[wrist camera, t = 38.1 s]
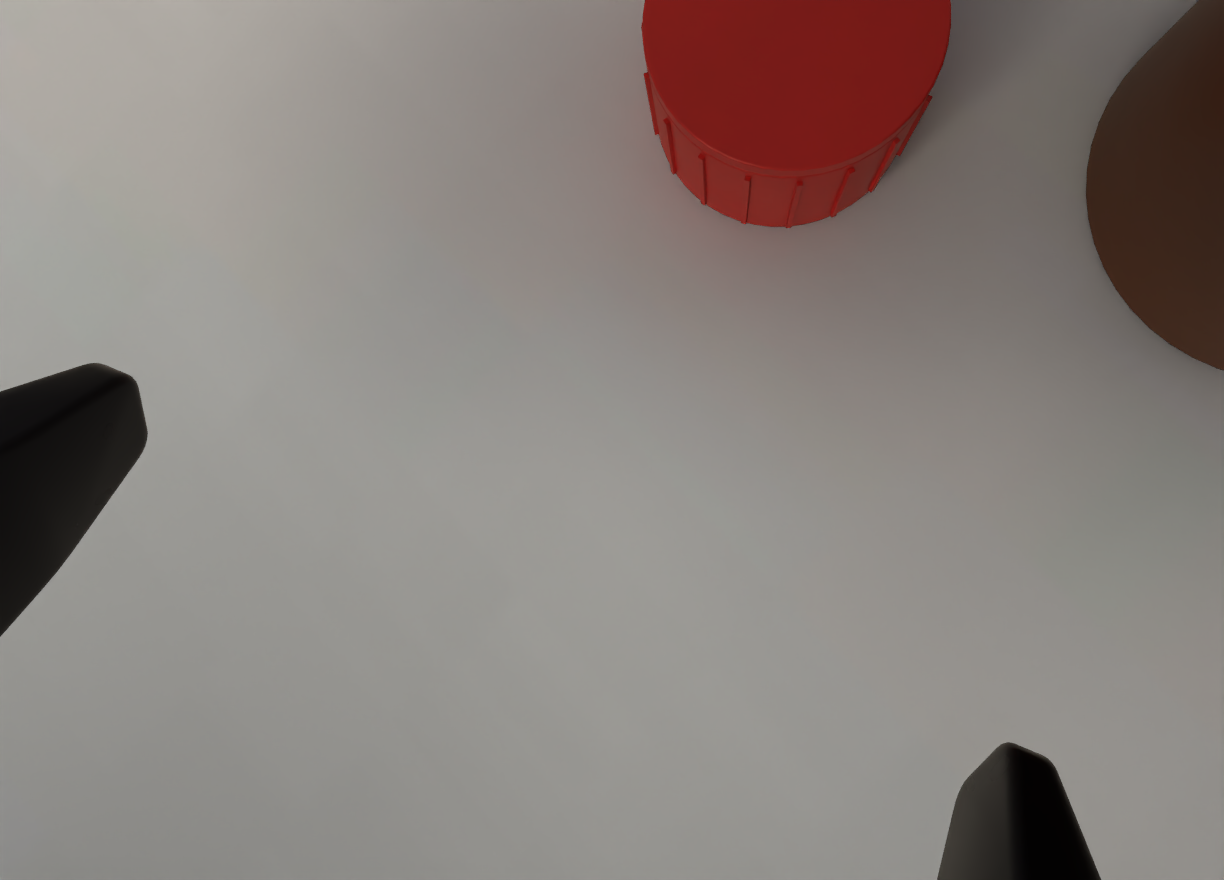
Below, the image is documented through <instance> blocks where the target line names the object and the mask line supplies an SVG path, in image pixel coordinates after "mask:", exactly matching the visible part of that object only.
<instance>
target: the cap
mask: <svg viewBox="0 0 1224 880" xmlns="http://www.w3.org/2000/svg"><path fill="white" fill-rule="evenodd" d="M641 28H642V37H643V46H644V54H645V60H646V66H647V71H648V72H647V73H644V78H645V84H646V89H647V94H648V100H649V105H650V110H651V116H652V121H653V126H654V132H655V135H657V134H659V136H660V140H661V144H662V147H663V149H664V152H665V154H666V157H667V159H668V161H669V163H670V168H671V172H672V173H673V174H675V173H676V174H677V176H678V177H679V178H680V180H681V181H682V182H683V184H684V185H685V186H686V187H687V188H688V189H689V190H690V191H691V192H692V193H693V194H694V195H695V196H696V197H697V198H699V199H700V200H701V203H702V204H703V205H706V204H707V205H708V206H709V207H711V208H713V209H714V210H716V211H718V212H720V213H722V214H723V215H726V216H728V217H731V218H733V219H736V220H738V221H741V223H743V224H746V223H750V224H754V225H762V226H770V227H785V226H786V228H791V227H792V226H795V225H802V224H807V223H811V222H814V221H818V220H821V219H824V218H826V217H829V216H831V218H832V217H834V216H836V215H837V213H838V212H840V211H841V210H843V209H845V208H847V207H848V206H850V205H852V204H853V203H854V202H856V201H857V200H858V199H860V198H861V197H862V196H864V195H865V194H866V193H867V192H868V191H870V192H872V191H873V190H874V189H875V188H876V186H877V184H878V182H879V180H880V178H881V177H882V176H883V174H884V173H885V172H886V171H887V169H888V168H889V166H890V164H891V163H892V161H893V159H894V158H895V156H896V155H898V156H900V155H901V153H902V151H903V149H904V148H905V146H906V144H907V142H908V140H909V139H910V137H911V135H912V133H913V131H914V130H915V128H916V126H917V124H918V122H919V121H920V119H921V117H922V115H923V113H924V112H925V110H926V108H927V106H928V104H929V103H930V101H931V99H932V96H930V95H929V93H930V91H931V89H932V88H933V86H934V84H935V82H936V79H937V77H938V75H939V72H940V70H941V68H942V65H943V62H944V59H945V55H946V52H947V48H948V44H949V37H950V29H951V1H950V0H645V4H644V11H643V23H642V27H641Z"/></svg>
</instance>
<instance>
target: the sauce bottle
mask: <svg viewBox="0 0 1224 880" xmlns="http://www.w3.org/2000/svg"><path fill="white" fill-rule="evenodd" d="M1086 199H1087V209H1088V219H1089V223H1090V228H1091V232H1092V236H1093V240H1094V244H1095V246H1096V249H1097V252H1098V254H1099V257H1100V259H1101V262H1102V264H1103V267H1104V269H1105V270H1106V272H1107V274H1108V276H1109V278H1110V279H1111V281H1112V283H1113V285H1114V286H1115V288H1116V290H1117V291H1118V292H1119V294H1120V295H1121V296H1122V298H1123V299H1124V300H1125V302H1126V303H1127V304H1128V306H1129V307H1130V308H1131V310H1132V311H1133V312H1134V313H1135V314H1136V315H1137V316H1138V317H1139V318H1140V319H1141V320H1142V321H1143V322H1144V323H1145V324H1146V325H1147V326H1148V327H1149V328H1150V329H1152V330H1153V331H1154V332H1155V333H1157V334H1158V335H1159V336H1160V337H1162V338H1163V339H1164V340H1166V341H1167V342H1168V343H1169V344H1171V345H1173V346H1174V347H1176V348H1178V349H1179V350H1181V351H1183V352H1184V353H1186V354H1188V355H1189V356H1191V357H1193V358H1195V359H1197V360H1199V361H1202V362H1204V363H1206V364H1209V365H1211V366H1213V367H1216V368H1218V369H1221V370H1224V0H1199V1H1198V2H1197V3H1196V4H1195V5H1194V6H1193V7H1192V8H1191V9H1190V10H1189V11H1188V12H1187V13H1186V14H1185V15H1184V16H1183V17H1182V18H1181V19H1180V20H1179V21H1178V22H1177V23H1176V24H1175V25H1174V26H1173V27H1172V28H1171V29H1170V30H1169V31H1168V32H1167V33H1166V34H1165V35H1164V36H1163V37H1162V38H1161V39H1160V40H1159V41H1158V42H1157V43H1156V44H1155V45H1154V46H1153V47H1152V48H1151V49H1150V50H1149V51H1148V52H1147V53H1146V54H1145V55H1144V56H1143V57H1142V58H1141V59H1140V60H1139V61H1138V62H1137V64H1136V65H1135V66H1134V67H1133V68H1132V69H1131V70H1130V72H1129V73H1128V74H1127V75H1126V76H1125V77H1124V79H1123V80H1122V82H1121V83H1120V85H1119V86H1118V88H1117V89H1116V91H1115V92H1114V94H1113V95H1112V97H1111V99H1110V100H1109V102H1108V105H1107V107H1106V109H1105V111H1104V113H1103V115H1102V117H1101V119H1100V121H1099V124H1098V127H1097V130H1096V133H1095V136H1094V139H1093V142H1092V145H1091V151H1090V156H1089V162H1088V168H1087V184H1086Z"/></svg>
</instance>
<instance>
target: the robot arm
mask: <svg viewBox="0 0 1224 880" xmlns="http://www.w3.org/2000/svg"><path fill="white" fill-rule="evenodd" d="M147 434H148V432H147V426H146V421H145V416H144V412H143V407H142V402H141V397H140V393H139V388H138V385H137V383H136V381H135V380H134V379H133V377H131V376H130V375H128V374H126V373H123V372H121V371H118V370H116V369H114V368H111V367H109V366H106V365H104V364H99V363H90V364H86V365H82V366H79V367H76V368H72V369H69V370H66V371H63V372H60V373H57V374H54V375H51V376H48V377H44V378H41V379H38V380H35V381H32V382H29V383H26V384H23V385H19V386H16V387H13V388H10V389H7V390H4V391H1V392H0V636H1V635H2V634H3V633H4V632H5V631H6V630H7V629H8V627H9V626H10V625H11V624H12V623H13V622H14V621H15V619H16V618H17V617H18V616H19V615H20V614H21V613H22V612H23V610H24V609H25V608H26V607H27V606H28V605H29V604H30V602H31V601H32V600H33V599H34V598H35V597H36V596H37V595H38V593H39V592H40V591H41V590H42V589H43V588H44V587H45V585H46V584H47V583H48V582H49V581H50V579H51V578H52V577H53V576H54V575H55V573H56V572H57V571H58V570H59V569H60V567H61V566H62V565H63V563H64V562H65V561H66V559H67V558H68V557H69V555H70V554H71V553H72V551H73V550H74V549H75V547H76V546H77V544H78V543H79V542H80V540H81V539H82V537H83V536H84V534H85V533H86V532H87V530H88V529H89V527H90V526H91V525H92V523H93V522H94V520H95V519H96V518H97V516H98V515H99V513H100V512H101V511H102V509H103V508H104V506H105V505H106V503H107V502H108V501H109V499H110V498H111V496H112V495H113V494H114V492H115V491H116V489H117V488H118V487H119V485H120V484H121V482H122V481H123V479H124V478H125V477H126V475H127V474H128V472H129V471H130V470H131V468H132V467H133V465H134V464H135V463H136V461H137V460H138V458H139V457H140V455H141V454H142V452H143V450H144V447H145V445H146V441H147ZM937 880H1101V878H1100V876H1099V873H1098V871H1097V868H1096V866H1095V863H1094V861H1093V858H1092V856H1091V854H1090V851H1089V849H1088V846H1087V844H1086V841H1085V839H1084V836H1083V834H1082V831H1081V829H1080V826H1079V824H1078V821H1077V819H1076V816H1075V814H1074V812H1073V809H1072V807H1071V804H1070V802H1069V799H1068V797H1067V794H1066V792H1065V789H1064V787H1063V784H1062V782H1061V779H1060V777H1059V775H1058V772H1057V770H1056V768H1055V766H1054V765H1053V763H1052V762H1051V761H1050V760H1049V759H1048V758H1046V757H1045V756H1043V755H1041V754H1038V753H1036V752H1033V751H1031V750H1029V749H1026V748H1024V747H1021V746H1019V745H1017V744H1014V743H1010V742H1008V743H1004V744H1001V745H1000V746H999V747H997V748H996V749H995V750H994V751H993V752H992V753H991V755H990V756H989V757H988V758H987V759H986V760H985V761H984V762H983V763H982V764H981V765H980V766H979V767H978V768H977V769H976V770H975V771H974V772H973V773H972V774H971V775H970V776H969V777H968V778H967V779H966V781H965V782H964V784H963V785H962V787H961V789H960V791H959V793H958V796H957V799H956V802H955V806H954V810H953V815H952V819H951V823H950V827H949V831H948V836H947V840H946V844H945V848H944V853H943V857H942V861H941V865H940V869H939V874H938V878H937Z"/></svg>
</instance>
